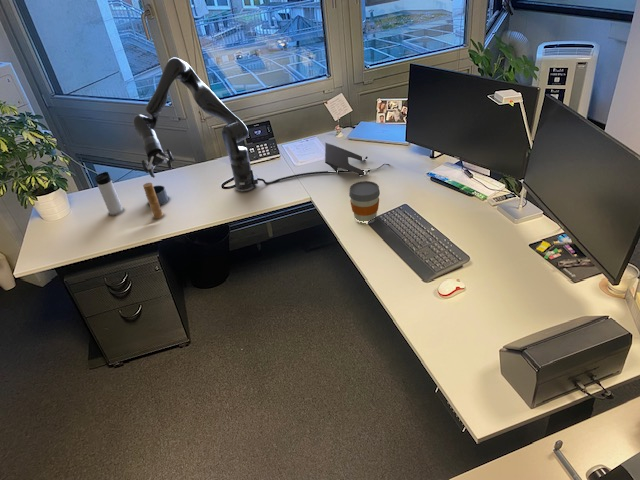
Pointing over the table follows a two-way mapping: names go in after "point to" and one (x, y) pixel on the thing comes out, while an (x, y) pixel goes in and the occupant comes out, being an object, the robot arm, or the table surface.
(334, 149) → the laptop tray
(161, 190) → the pen cup
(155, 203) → the wooden rod
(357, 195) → the reusable coffee cup
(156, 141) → the robot arm
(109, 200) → the travel mug
